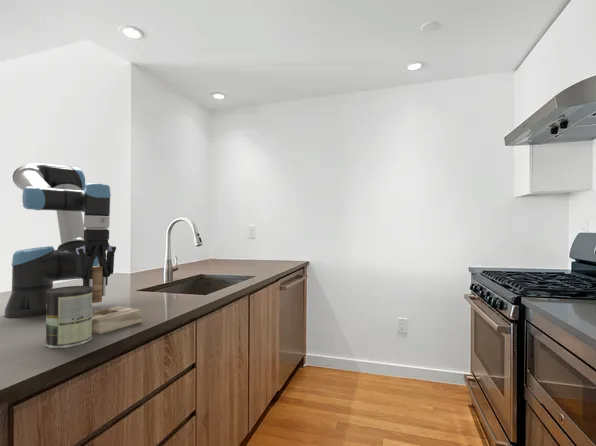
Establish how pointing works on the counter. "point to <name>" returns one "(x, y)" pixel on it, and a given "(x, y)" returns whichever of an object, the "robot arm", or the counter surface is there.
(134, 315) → the maple block
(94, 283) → the oak peg
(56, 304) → the coffee can
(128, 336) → the counter surface
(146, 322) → the counter surface
